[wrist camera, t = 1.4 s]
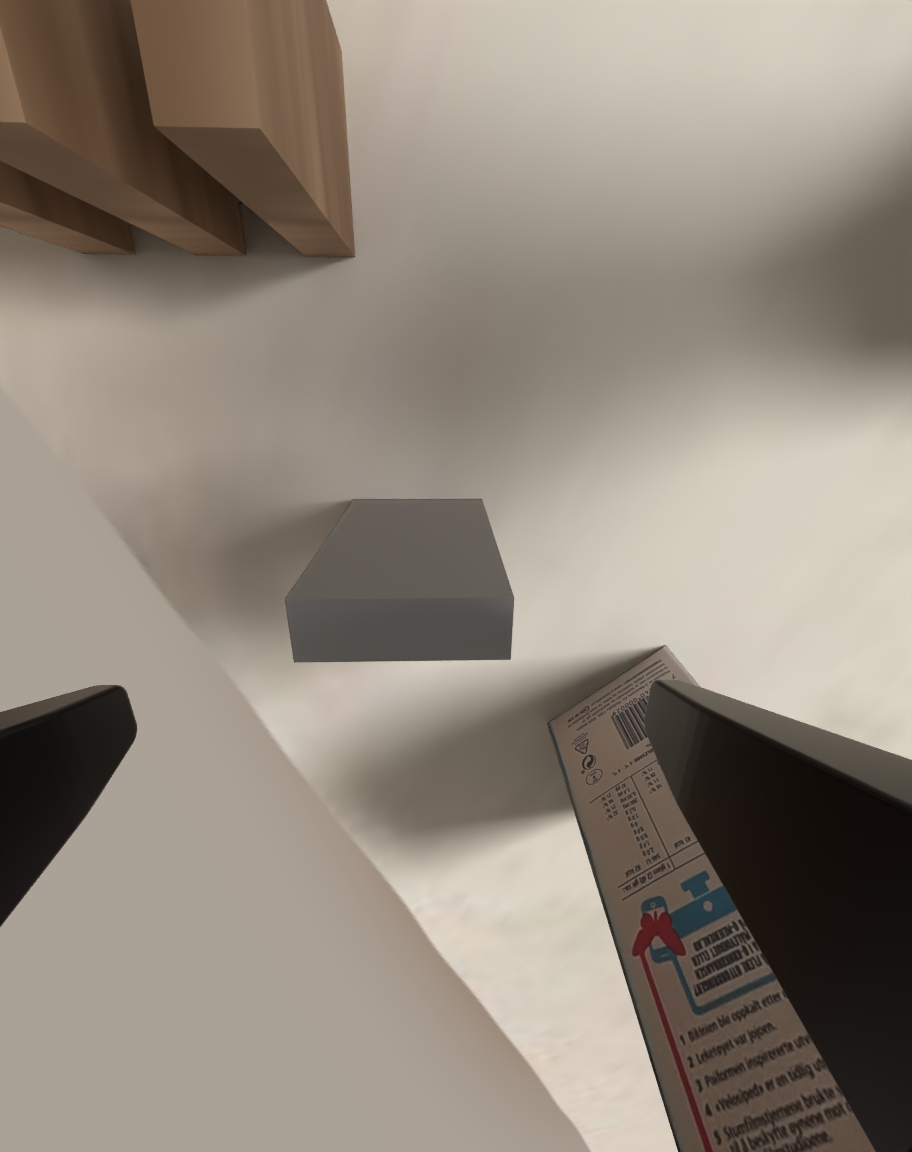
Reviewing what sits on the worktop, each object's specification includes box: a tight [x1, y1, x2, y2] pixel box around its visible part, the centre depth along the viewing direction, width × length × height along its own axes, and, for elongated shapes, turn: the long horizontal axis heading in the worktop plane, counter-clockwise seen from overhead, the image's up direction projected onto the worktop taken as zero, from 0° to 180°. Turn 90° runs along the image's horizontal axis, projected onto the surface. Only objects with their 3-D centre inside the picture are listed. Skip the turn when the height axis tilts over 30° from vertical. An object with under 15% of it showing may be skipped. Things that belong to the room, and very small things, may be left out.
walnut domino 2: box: [131, 0, 355, 257], centre depth 11 cm, size 2×5×9 cm, turn 0°
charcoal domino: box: [285, 499, 514, 662], centre depth 15 cm, size 2×5×9 cm, turn 90°
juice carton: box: [548, 646, 875, 1152], centre depth 13 cm, size 7×7×22 cm
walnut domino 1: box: [0, 0, 246, 256], centre depth 10 cm, size 2×5×9 cm, turn 0°
